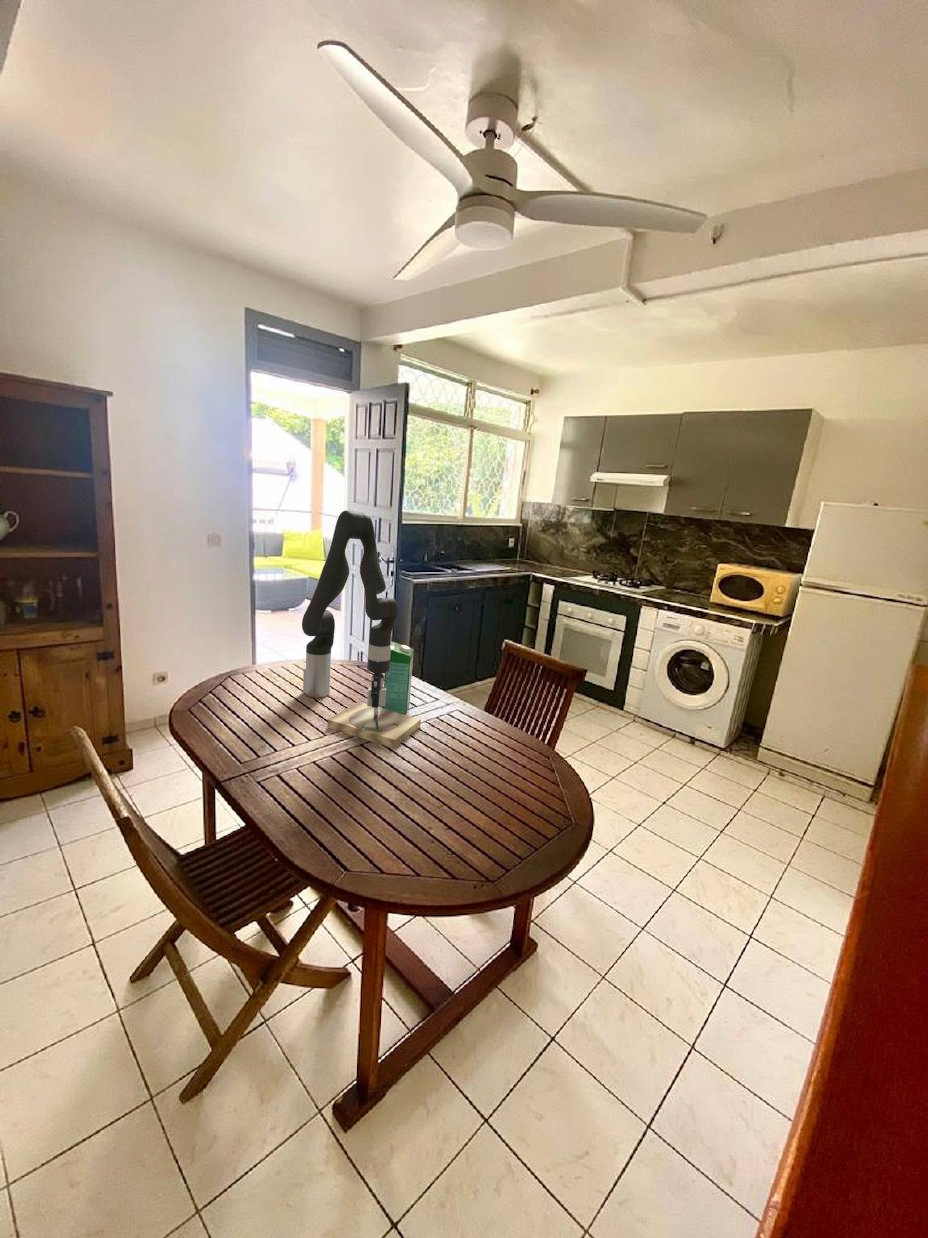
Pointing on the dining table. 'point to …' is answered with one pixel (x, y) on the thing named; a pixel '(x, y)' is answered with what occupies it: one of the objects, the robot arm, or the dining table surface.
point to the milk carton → (399, 678)
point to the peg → (381, 702)
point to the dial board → (363, 724)
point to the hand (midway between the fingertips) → (376, 702)
